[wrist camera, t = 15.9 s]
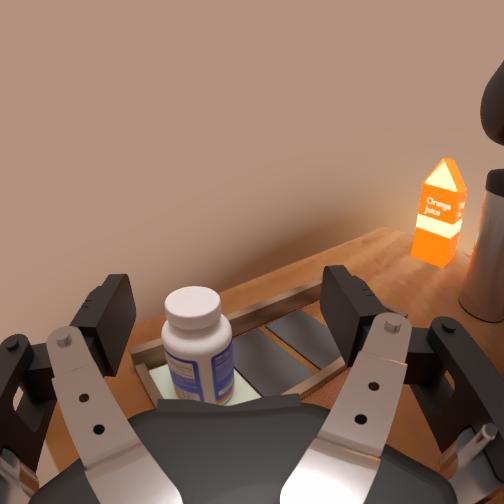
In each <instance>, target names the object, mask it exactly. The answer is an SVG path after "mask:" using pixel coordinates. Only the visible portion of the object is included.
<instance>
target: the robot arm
mask: <svg viewBox="0 0 504 504" xmlns="http://www.w3.org/2000/svg"><path fill="white" fill-rule="evenodd" d="M480 113H481V114H480V115H481V122H482V126H483V129H484V131H485V133H486V135H487V136H488V137H489V138H490V139H491V140H493V141H494V142H496V143H498V144H501V145H504V61H503V63H502V64H501V65H500V67H499V68H498V70H497V71H496V72H495V74H494V75H493V76H492V78H491V79H490V81H489V82H488V84H487V86H486V88H485V91H484V94H483V97H482V102H481V110H480ZM485 188H486V189H485V194H484V201H483V206H482V212H481V217H480V223H479V227H478V231H477V236H476V240H475V244H474V248H473V253H472V256H471V259H470V263H469V267H468V270H467V273H466V276H465V280H464V283H463V286H462V289H461V292H460V295H459V301H460V303H461V305H462V306H463V308H464V309H465V310H467V311H468V312H469V313H470V314H472V315H473V316H475V317H477V318H479V319H482V320H485V321H489V322H499V321H502V320H503V319H504V169H496V170H491V171H490V172H489V173H488V175H487V181H486V187H485ZM320 309H321V313H322V315H323V317H324V319H325V321H326V323H327V325H328V328H329V330H330V332H331V334H332V336H333V338H334V341H335V343H336V345H337V347H338V349H339V351H340V354H341V356H342V358H343V360H344V362H345V365H346V367H352V366H353V367H352V369H351V371H350V373H349V375H348V377H347V379H346V381H345V384H344V386H343V388H342V390H341V392H340V394H339V396H338V398H337V400H336V402H335V404H334V406H333V407H332V409H331V410H330V409H327V408H324V407H322V406H318V405H314V404H309V403H301V400H300V396H299V393H294V394H285V395H275V396H264V397H261V398H257V399H254V400H250V401H246V402H243V403H239V404H235V405H231V406H224V405H218V404H212V403H207V402H202V401H197V400H192V399H158V401H157V407H156V409H151V410H148V411H144V412H142V413H139V414H137V415H135V416H133V417H131V418H129V419H126V417H125V416H124V414H123V412H122V411H121V409H120V407H119V406H118V404H117V402H116V401H115V399H114V397H113V395H112V393H111V392H110V390H109V388H108V386H107V384H106V382H105V381H104V377H105V376H111V377H116V374H117V371H118V368H119V365H120V362H121V359H122V356H123V353H124V350H125V347H126V345H127V342H128V339H129V336H130V333H131V331H132V328H133V325H134V322H135V319H136V307H135V302H134V298H133V294H132V289H131V285H130V281H129V277H128V275H127V274H110V275H108V277H107V278H106V280H105V281H104V283H103V284H102V286H98V287H97V288H96V289H94V290H93V291H92V292H90V294H89V295H88V297H87V298H86V300H85V302H84V303H83V304H82V306H81V308H80V309H79V311H78V312H77V314H76V316H75V317H74V319H73V320H72V322H71V324H70V325H69V326H65V327H61V328H58V329H56V330H55V331H53V332H52V333H51V334H50V335H49V336H48V338H47V341H46V343H42V344H36V345H30V343H29V341H28V338H27V337H26V336H25V335H22V334H15V335H12V336H10V337H8V338H6V339H5V340H4V341H3V342H2V343H1V345H0V504H484V503H486V502H488V501H489V500H491V499H492V498H494V497H495V496H496V495H498V494H499V493H501V492H502V491H504V379H503V378H502V377H501V375H500V374H499V372H498V371H497V370H496V368H495V367H494V366H493V364H492V363H491V362H490V360H489V359H488V358H487V356H486V355H485V354H484V352H483V351H482V350H481V348H480V347H479V346H478V345H477V343H476V342H475V341H474V340H473V338H472V337H471V336H470V335H469V333H468V332H467V331H466V330H465V329H464V327H463V326H462V325H461V324H460V323H459V322H458V321H456V320H454V319H452V318H449V317H437V318H435V319H433V321H432V323H431V326H430V328H414V327H412V326H411V324H410V322H409V321H408V320H407V319H406V318H405V317H403V316H401V315H399V314H396V313H388V311H387V310H386V309H385V307H384V306H383V305H382V303H381V302H380V301H379V299H378V298H377V297H376V296H375V294H374V293H373V292H372V290H370V288H369V287H368V285H367V284H366V283H365V281H363V280H361V279H360V278H358V277H357V276H351V274H350V273H349V272H348V270H347V269H346V268H345V266H344V265H333V266H325V268H324V271H323V278H322V286H321V294H320ZM447 370H448V372H449V373H450V375H451V376H452V378H453V380H454V383H455V390H453V389H452V387H451V385H450V384H449V382H448V380H447V379H446V377H445V373H446V371H447ZM403 384H409V385H410V387H411V389H412V391H413V393H414V395H415V397H416V399H417V401H418V403H419V405H420V407H421V409H422V411H423V413H424V416H425V418H426V420H427V422H428V424H429V426H430V428H431V431H432V433H433V435H434V437H435V439H436V442H437V444H438V446H439V448H440V451H441V453H442V455H441V457H440V460H439V469H440V471H439V473H437V472H436V471H434V470H432V469H430V468H428V467H426V466H424V465H422V464H421V463H419V462H417V461H415V460H413V459H411V458H410V457H408V456H406V455H404V454H403V453H401V452H399V451H397V450H396V449H394V448H392V447H390V446H389V445H387V444H385V442H386V439H387V437H388V434H389V431H390V428H391V424H392V421H393V418H394V415H395V411H396V408H397V405H398V401H399V397H400V394H401V390H402V386H403ZM18 387H20V388H21V389H22V391H23V392H24V393H23V396H22V398H21V400H20V403H19V405H18V407H17V410H16V412H15V410H14V407H13V398H14V395H15V393H16V391H17V389H18ZM57 399H58V402H59V405H60V408H61V411H62V414H63V416H64V419H65V422H66V424H67V427H68V430H69V432H70V435H71V437H72V440H73V442H74V444H75V447H76V449H77V451H78V453H79V456H80V458H79V459H78V460H76V461H75V462H74V463H73V464H71V465H70V466H69V467H68V468H66V469H65V470H64V471H62V472H61V473H60V474H58V475H57V476H56V477H54V478H53V479H52V480H50V481H49V482H48V483H47V484H45V485H44V486H43V487H41V488H40V489H39V481H38V478H37V476H36V470H37V466H38V462H39V458H40V454H41V450H42V446H43V443H44V440H45V436H46V433H47V430H48V426H49V423H50V420H51V417H52V414H53V411H54V408H55V405H56V402H57Z"/></svg>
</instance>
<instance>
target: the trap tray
mask: <svg viewBox="0 0 504 504" xmlns="http://www.w3.org/2000/svg"><path fill="white" fill-rule="evenodd" d="M322 278H323V277H322ZM322 278H319V279H317V280H315V281H312V282H310V283H307V284H305V285H302V286H300V287H297V288H295V289H293V290H290V291H288V292H285V293H282V294H280V295H277V296H275V297H272V298H270V299H267V300H265V301H262V302H259V303H257V304H254V305H252V306H249V307H246V308H244V309H241V310H238V311H236V312H233V313H230V314H227V315H225V317H226V318H227V320H228V321H229V323H230V325H231V329H232V337H235V336H237V335H240V334H242V333H244V332H247V331H249V330H252V329H254V328H256V327H259V326H261V325H263V324H266V323H268V322H270V321H272V320H275V319H277V318H279V317H282V316H284V315H286V314H288V313H290V312H293V311H295V310H297V309H299V308H301V307H304V306H306V305H308V304H310V303H312V302H314V301H316V300H318V299H320V294H321V286H322ZM379 301H380V302H381V303H382V305H383V306H384V307H385V309H386V310H387V311H388V313H396V314H399V315H401V316H403V317H405V318H406V319H407V316H408V314H407V313H405V312H403V311H401V310H399V309H397V308H395V307H393V306H392V305H390V304H388V303H386V302H384V301H382V300H380V299H379ZM265 327H266V328H268V329H269V330H270V331H271V332H273V333H274V334H275V335H276V336H277V337H279V338H280V339H281V340H283V341H284V342H285V343H286V344H288V345H289V346H290V347H291V348H293V349H294V350H295V351H296V352H298V353H299V354H300V355H302V356H303V357H304V358H305V359H307V360H308V361H309V362H311V363H312V364H313V365H315V366H316V367H317V368H318V369H320V371H319V372H317V373H316V374H314V373H313V372H311V371H310V370H309V369H307V368H306V367H305V366H304V365H302V364H301V363H300V362H299V361H297V360H296V359H295V358H294V357H292V356H291V355H290V354H289V353H287V352H286V351H285V350H284V349H283V348H281V347H280V346H279V345H278V344H276V343H275V342H274V341H273V340H272V339H270V338H269V337H268V336H267V335H266V334H264V333H263V332H262V331H261V330H260V329H256V330H254V331H251V332H249V333H247V334H244V335H242V336H240V337H237V338H235V339H232V343H233V363H234V368H235V369H236V370H237V371H238V372H239V373H240V374H241V375H242V376H243V377H244V378H245V379H246V380H247V381H248V382H249V383H250V384H251V385H252V386H253V387H254V388H255V389H256V391H257V392H258V393H259V394H260V395H261V396H262V397H264V396H275V395H285V394H294V393H299V396H300V400H301V399H303V398H304V397H306V396H308V395H309V394H311V393H312V392H314V391H315V390H317V389H318V388H320V387H321V386H323V385H324V384H326V383H327V382H328V381H330V380H331V379H333V378H334V377H336V376H337V375H338V374H340V373H341V372H343V371H344V370H345V369H347V368H348V367H346V365H345V362H344V360H343V358H342V356H341V354H340V351H339V349H338V347H337V345H336V343H335V341H334V338H333V336H332V334H331V332H330V330H329V328H328V327H326V326H325V325H323V324H322V323H320V322H319V321H317V320H316V319H314V318H312V317H311V316H309V315H308V314H306V313H305V312H303V311H302V310H299V311H297V312H294V313H292V314H290V315H288V316H286V317H283V318H281V319H279V320H277V321H274V322H272V323H270V324H268V325H266V326H265ZM128 349H129V352H130V355H131V358H132V361H133V364H134V367H135V369H136V371H137V373H138V375H139V377H140V379H141V381H142V383H143V386H144V387H145V389H146V391H147V393H148V395H149V397H150V399H151V401H152V403H153V405H154V407H155V409H156V407H157V401H158V399H179V398H178V396H177V394H176V392H175V389H174V386H173V382H172V378H171V375H170V371H169V367H168V364H167V365H165V366H162V367H159V368H156V369H153V370H150V371H148V369H150V368H153V367H156V366H158V365H161V364H164V363H167V359H166V355H165V351H164V347H163V342H162V338H159V339H156V340H153V341H150V342H147V343H144V344H140V345H137V346H134V347H131V348H128ZM234 381H235V385H234V391H233V394H232V396H231V397H230V399H229V400H228V401H227V402H225V403H224V404H223V405H224V406H231V405H235V404H239V403H243V402H246V401H250V400H254V399H257V398H261V397H260V396H259V395H258V394H257V393H256V392H255V391H254V390H253V389H252V387H251V386H250V385H249V384H248V383H247V382H246V381H245V380H244V379H243V378H242V377H241V376H240V375H239V374H238V373H237V372H236V371H235V370H234Z"/></svg>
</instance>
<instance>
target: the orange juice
mask: <svg viewBox="0 0 504 504" xmlns="http://www.w3.org/2000/svg"><path fill="white" fill-rule="evenodd" d="M422 184H423V185H422V193H421V200H420V207H419V213H418V218H417V224H416V231H415V236H414V241H413V246H412V251H411V256H413V257H416V258H418V259H421V260H423V261H426V262H428V263H431V264H433V265H436V266H438V267H441V268H444V267H445V265H446V264H447V263H448V262H449V261H450V260H451V259H452V258H453V257H454V253H455V249H456V245H457V240H458V236H459V231H460V228H461V223H462V216H463V211H464V205H465V199H466V193H467V190H466V188H465V185H464V183H463V180H462V178H461V176H460V173H459V171H458V169H457V167H456V164H455V162H454V159H447V158H444V159H443V160H442V161H441V162H440V163H439V165H438V166H437V167H436V168H435V169H434V170H433V172H432V173H431V174H430V175H429V176H428V178H427V179H426V180H425V181H424V182H423V183H422Z"/></svg>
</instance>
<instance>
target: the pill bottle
mask: <svg viewBox="0 0 504 504" xmlns="http://www.w3.org/2000/svg"><path fill="white" fill-rule="evenodd" d="M165 310H166V318H167V321H166V322H165V324H164V326H163V328H162V342H163V347H164V351H165V355H166V359H167V363H168V367H169V371H170V375H171V378H172V382H173V386H174V389H175V392H176V394H177V396H178V398H179V399H192V400H197V401H202V402H207V403H212V404H218V405H223V404H224V403H225V402H227V401H228V400H229V399H230V397H231V396H232V394H233V391H234V385H235V381H234V363H233V343H232V329H231V325H230V323H229V321H228V320H227V318H226V317H225V316H224V315H222V314H221V313H222V311H221V301H220V297H219V295H218V294H217V293H216V292H215V291H213V290H211V289H209V288H205V287H198V286H191V287H184V288H181V289H178V290H176V291H174V292H172V293H171V294H170V295H169V296H168V297H167V299H166V301H165Z"/></svg>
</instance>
